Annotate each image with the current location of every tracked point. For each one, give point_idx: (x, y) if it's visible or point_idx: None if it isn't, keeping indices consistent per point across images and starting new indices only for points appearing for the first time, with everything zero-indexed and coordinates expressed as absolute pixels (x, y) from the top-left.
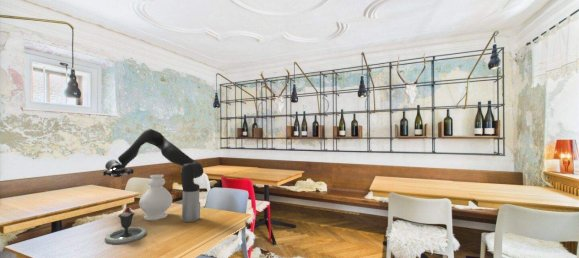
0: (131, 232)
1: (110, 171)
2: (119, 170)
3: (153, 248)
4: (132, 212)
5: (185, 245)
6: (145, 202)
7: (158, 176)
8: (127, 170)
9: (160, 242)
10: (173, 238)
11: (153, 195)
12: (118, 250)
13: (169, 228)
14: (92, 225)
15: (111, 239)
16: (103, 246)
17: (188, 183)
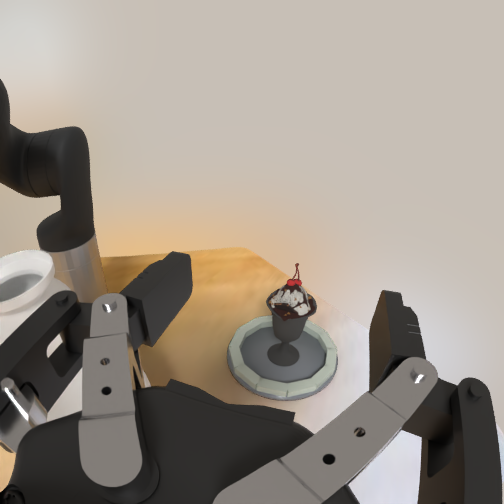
0: (262, 363)
1: (394, 330)
2: (215, 400)
3: (267, 275)
4: (274, 296)
5: (223, 254)
6: (146, 382)
7: (42, 252)
8: (148, 297)
9: (243, 283)
10: (214, 281)
11: None
12: (320, 305)
13: (173, 323)
14: None
15: (327, 335)
16: (343, 339)
17: (91, 198)
